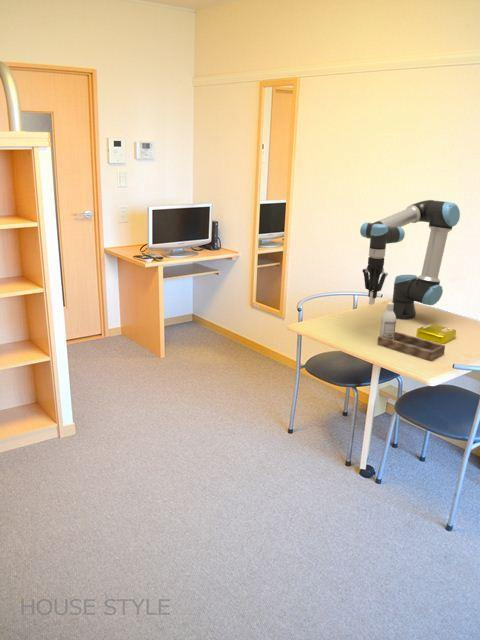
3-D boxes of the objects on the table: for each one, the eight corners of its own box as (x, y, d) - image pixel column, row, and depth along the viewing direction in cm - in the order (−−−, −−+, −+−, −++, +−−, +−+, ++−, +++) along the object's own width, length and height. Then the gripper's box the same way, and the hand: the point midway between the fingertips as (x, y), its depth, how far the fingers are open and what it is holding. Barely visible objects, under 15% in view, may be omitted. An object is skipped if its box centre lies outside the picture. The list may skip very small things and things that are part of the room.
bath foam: (396, 343, 264) (401, 304, 257) (385, 345, 261) (389, 306, 254) (387, 338, 270) (391, 300, 263) (376, 340, 267) (380, 302, 260)
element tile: (428, 330, 283) (430, 321, 282) (456, 338, 273) (458, 329, 272) (414, 337, 273) (415, 328, 272) (442, 345, 263) (444, 336, 262)
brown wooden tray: (377, 344, 262) (378, 337, 260) (391, 338, 270) (392, 330, 269) (431, 361, 243) (432, 352, 242) (443, 353, 252) (445, 345, 251)
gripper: (360, 255, 260) (356, 302, 268) (384, 260, 252) (379, 308, 259) (368, 253, 265) (364, 299, 273) (392, 258, 257) (387, 305, 264)
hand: (371, 303), depth 266 cm, fingers closed
